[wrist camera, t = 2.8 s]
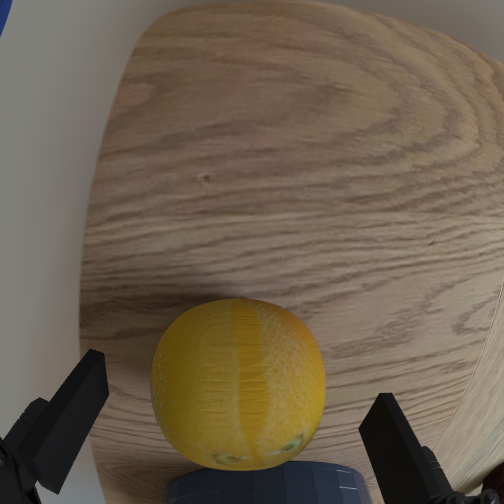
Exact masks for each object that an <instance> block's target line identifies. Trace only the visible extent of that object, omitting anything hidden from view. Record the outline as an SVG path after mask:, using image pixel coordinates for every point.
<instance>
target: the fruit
mask: <svg viewBox="0 0 504 504" xmlns="http://www.w3.org/2000/svg"><path fill="white" fill-rule="evenodd" d="M150 387H151V399H152V404H153V409H154V413H155V416H156V419H157V422H158V424H159V427H160V429H161V431H162V433H163V434H164V436H165V437H166V439H167V440H168V442H169V443H170V444H171V445H172V446H173V447H174V448H175V449H176V450H177V451H178V452H179V453H180V454H182V455H183V456H184V457H186V458H188V459H189V460H191V461H193V462H195V463H197V464H200V465H202V466H206V467H209V468H214V469H220V470H234V471H248V470H260V469H266V468H271V467H274V466H277V465H280V464H282V463H285V462H287V461H289V460H290V459H292V458H293V457H295V456H296V455H298V454H299V453H300V452H301V451H302V450H303V449H304V448H305V447H306V446H307V445H308V444H309V442H310V441H311V439H312V438H313V436H314V435H315V433H316V431H317V429H318V426H319V424H320V421H321V418H322V414H323V410H324V405H325V395H326V378H325V370H324V364H323V360H322V356H321V353H320V350H319V347H318V345H317V343H316V341H315V339H314V337H313V335H312V334H311V332H310V331H309V329H308V328H307V327H306V325H305V324H304V323H303V322H302V321H301V320H300V319H299V318H298V317H297V316H295V315H294V314H293V313H291V312H290V311H288V310H286V309H284V308H282V307H280V306H277V305H275V304H271V303H268V302H264V301H260V300H252V299H242V298H234V299H224V300H217V301H212V302H208V303H204V304H201V305H198V306H195V307H193V308H191V309H189V310H187V311H186V312H184V313H183V314H181V315H180V316H179V317H178V318H176V319H175V320H174V321H173V322H172V323H171V325H170V326H169V327H168V328H167V330H166V331H165V333H164V334H163V336H162V338H161V339H160V341H159V344H158V346H157V348H156V351H155V355H154V358H153V363H152V368H151V379H150Z"/></svg>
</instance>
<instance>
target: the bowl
mask: <svg viewBox="0 0 504 504" xmlns="http://www.w3.org/2000/svg"><path fill="white" fill-rule="evenodd" d="M162 504H373V501H372V498H371V495H370V492H369V488H368V485H367V484H366V482H365V479H364V477H363V476H362V475H361V473H359V472H357V471H356V470H354V469H351V468H349V467H345V466H341V465H337V464H330V463H320V462H298V461H292V462H285V463H282V464H280V465H277V466H274V467H271V468H266V469H260V470H248V471H234V470H220V469H214V468H209V469H204V470H199V471H196V472H192V473H188V474H186V475H183V476H181V477H179V478H177V479H175V480H173V481H172V482H171V483H170V484H169V485H168V486H167V488H166V490H165V494H164V496H163V501H162Z"/></svg>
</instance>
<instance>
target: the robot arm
mask: <svg viewBox="0 0 504 504" xmlns="http://www.w3.org/2000/svg"><path fill="white" fill-rule="evenodd" d="M108 396H109V389H108V382H107V374H106V366H105V356H104V353H102V352H99V351H96V350H93V349H89V350H88V352H87V353H86V354H85V355H84V357H83V358H82V359H81V361H80V362H79V363H78V364H77V366H76V367H75V368H74V370H73V371H72V372H71V373H70V375H69V376H68V377H67V379H66V380H65V381H64V383H63V384H62V385H61V387H60V388H59V390H58V391H57V392H56V394H55V395H54V396H53V397H52V399H51V400H50V402H48V401H46V400H44V399H42V398H40V397H39V398H38V399H36V400H34V401H33V402H31V403H30V404H29V405H28V407H27V408H26V409H25V411H24V413H22V415H21V416H20V419H18V420H17V421H16V423H15V424H14V425H13V427H12V428H11V430H10V431H9V433H8V434H7V435H6V437H5V438H4V439H3V440H2V438H1V437H0V504H41V501H40V498H39V496H38V492H37V489H36V487H35V483H36V482H37V480H38V482H39V483H40V484H41V486H43V487H45V488H46V489H48V490H50V491H52V492H54V493H56V494H59V492H60V490H61V488H62V486H63V483H64V481H65V479H66V477H67V475H68V473H69V471H70V469H71V467H72V465H73V462H74V461H75V459H76V457H77V455H78V453H79V451H80V449H81V447H82V445H83V443H84V441H85V439H86V437H87V435H88V433H89V431H90V429H91V427H92V426H93V424H94V422H95V420H96V418H97V416H98V414H99V413H100V411H101V409H102V407H103V405H104V403H105V401H106V400H107V398H108ZM358 429H359V432H360V435H361V438H362V440H363V443H364V446H365V448H366V451H367V454H368V457H369V459H370V462H371V465H372V468H373V471H374V473H375V476H376V479H377V482H378V485H379V488H380V491H381V494H382V497H383V500H384V502H385V504H499V497H498V494H497V493H496V492H495V491H494V490H493V489H485V490H484V491H483V492H482V493H480V494H479V495H478V496H468V497H466V496H465V495H464V494H463V493H461V492H454V491H453V489H452V488H451V486H450V484H449V482H448V480H447V478H446V476H445V474H444V472H443V470H442V468H440V467H441V466H440V464H439V462H437V459H436V457H435V455H434V453H433V452H432V451H431V450H430V449H429V448H428V447H427V446H423V447H421V445H420V443H419V441H418V440H417V438H416V436H415V434H414V432H413V430H412V428H411V427H410V425H409V423H408V421H407V419H406V417H405V416H404V414H403V412H402V410H401V408H400V407H399V405H398V403H397V401H396V399H395V398H394V396H393V394H392V393H379V395H378V397H377V398H376V400H375V402H374V404H373V405H372V407H371V409H370V410H369V412H368V414H367V415H366V417H365V419H364V420H363V422H362V423H361V425H360V427H359V428H358Z"/></svg>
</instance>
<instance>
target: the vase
mask: <svg viewBox="0 0 504 504" xmlns="http://www.w3.org/2000/svg"><path fill="white" fill-rule="evenodd" d="M485 489H493V490H494V491H495V492H496V493H497V494H498V497H499V504H504V463H502V464H501V465H500V466H498V467H497V468H496V469H495V470H494V471H492V472H491V473H490V474H489V475H488V476H487V477H486V478H485V479H484V480H483V487H482V491H481V493H482V492H483V491H484V490H485Z"/></svg>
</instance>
